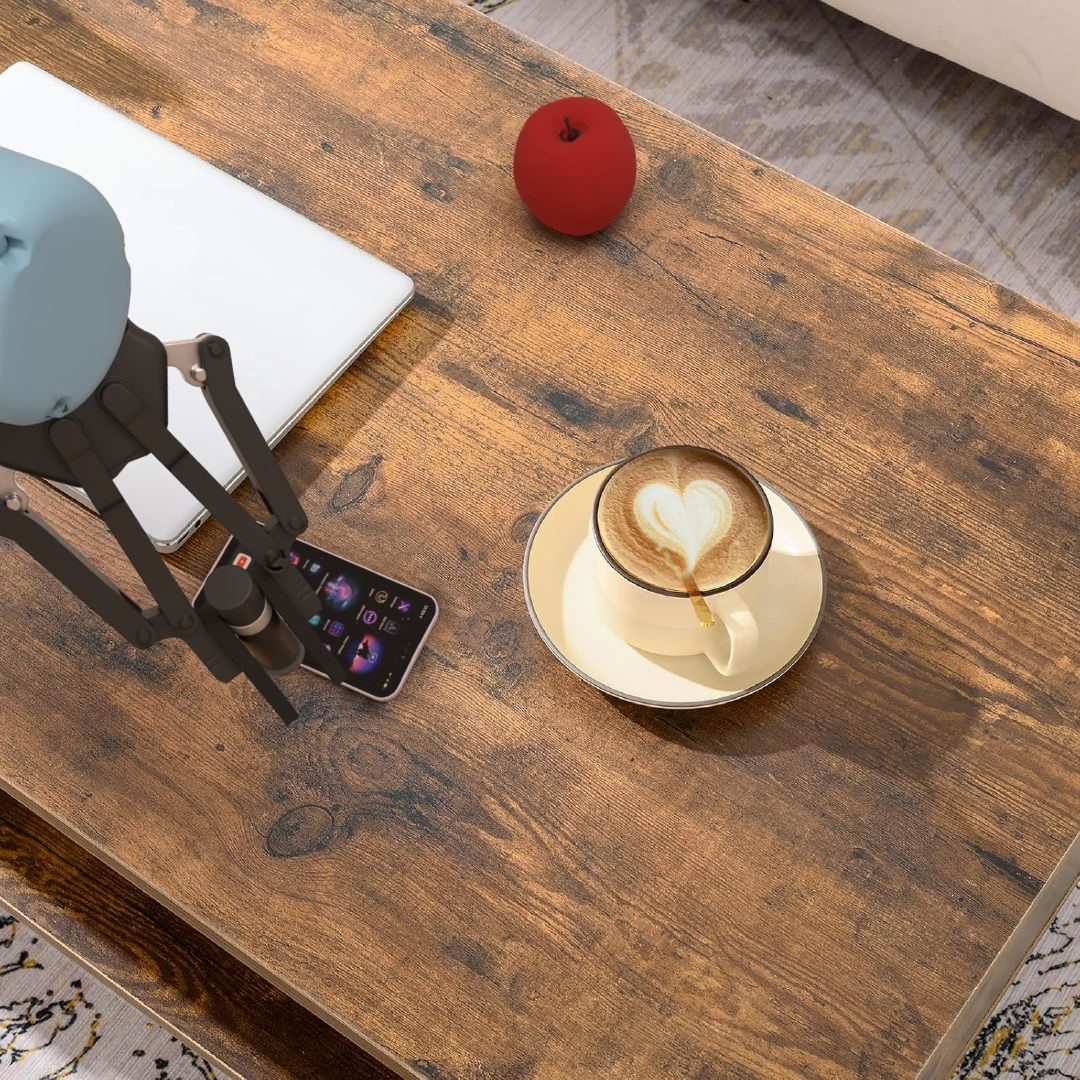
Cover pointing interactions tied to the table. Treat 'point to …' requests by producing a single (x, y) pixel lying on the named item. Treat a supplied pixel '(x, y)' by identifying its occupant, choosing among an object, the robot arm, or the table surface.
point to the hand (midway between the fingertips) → (310, 691)
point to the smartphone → (354, 616)
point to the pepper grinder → (253, 620)
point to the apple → (575, 165)
